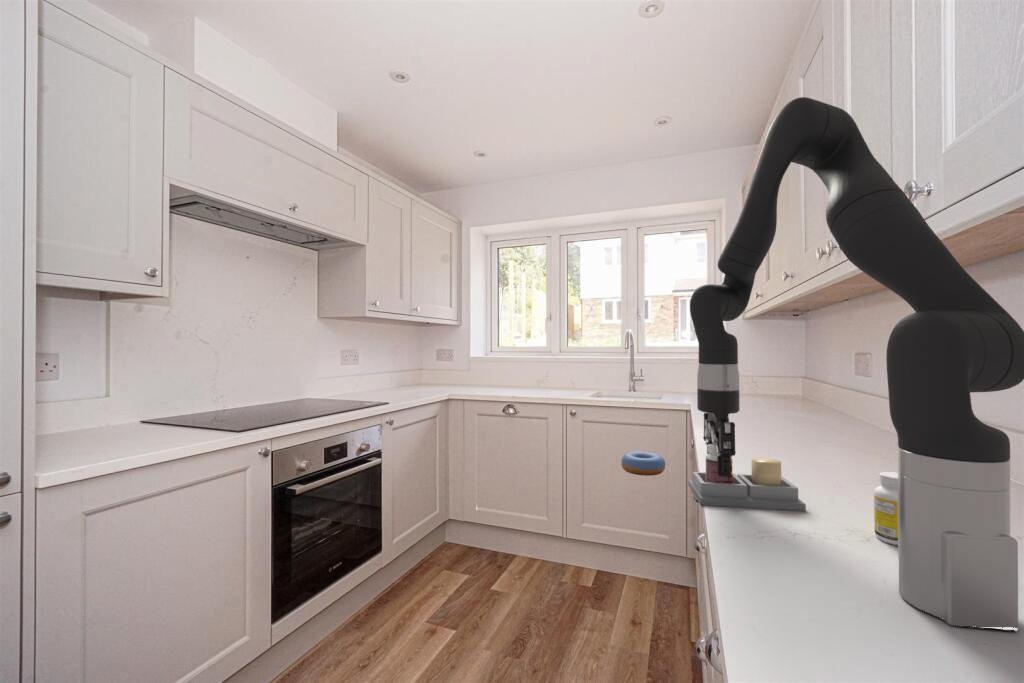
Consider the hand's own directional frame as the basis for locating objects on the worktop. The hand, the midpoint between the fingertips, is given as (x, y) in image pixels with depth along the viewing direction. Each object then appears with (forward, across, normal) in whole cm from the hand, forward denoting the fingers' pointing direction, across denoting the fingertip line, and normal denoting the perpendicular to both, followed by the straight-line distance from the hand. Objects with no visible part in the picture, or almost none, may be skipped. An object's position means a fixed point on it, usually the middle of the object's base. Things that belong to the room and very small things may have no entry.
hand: (718, 470), depth 91 cm
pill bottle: (+4, 0, 0) cm, 4 cm away
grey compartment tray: (+5, 0, -4) cm, 7 cm away
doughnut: (+5, +16, +13) cm, 21 cm away
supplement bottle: (+5, -17, -21) cm, 28 cm away
